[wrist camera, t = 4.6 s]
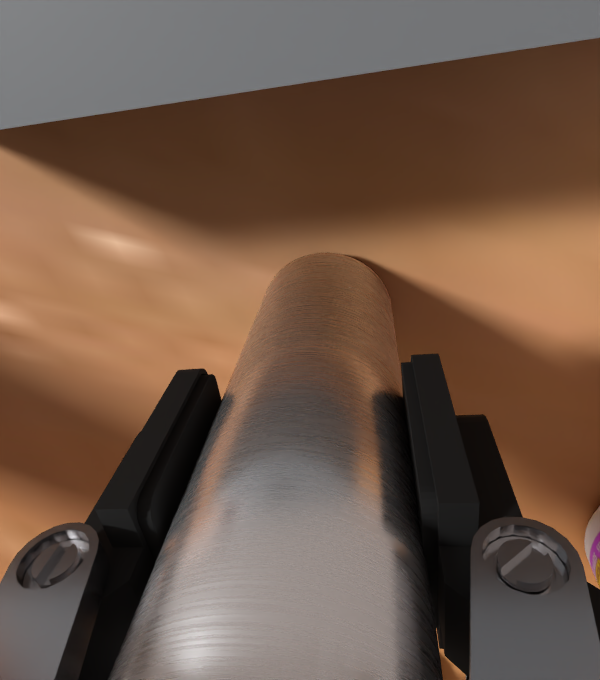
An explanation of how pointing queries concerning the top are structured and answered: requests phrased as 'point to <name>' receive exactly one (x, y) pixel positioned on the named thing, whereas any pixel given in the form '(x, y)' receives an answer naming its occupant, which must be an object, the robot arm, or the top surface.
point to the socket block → (245, 46)
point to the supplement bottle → (593, 544)
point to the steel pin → (298, 506)
